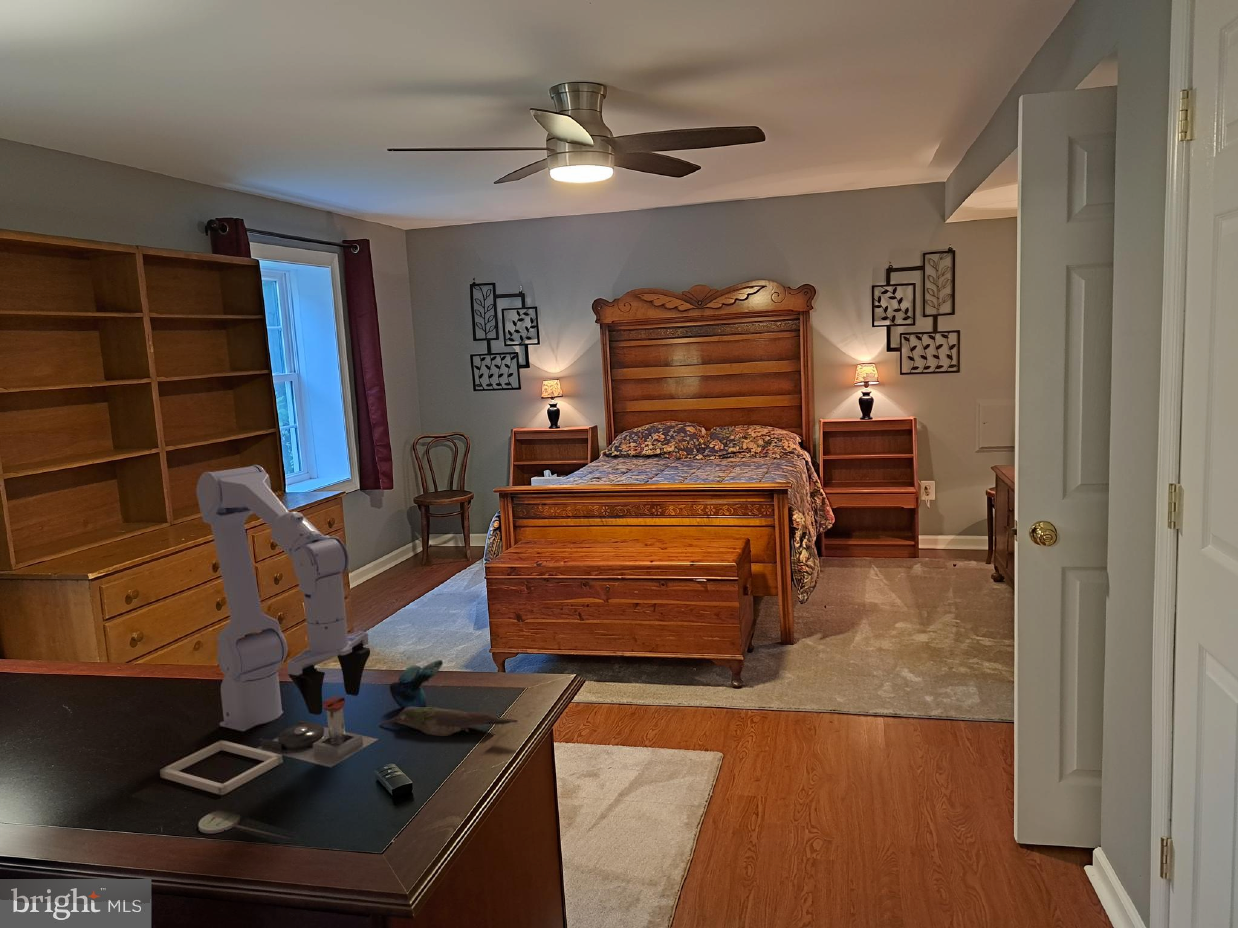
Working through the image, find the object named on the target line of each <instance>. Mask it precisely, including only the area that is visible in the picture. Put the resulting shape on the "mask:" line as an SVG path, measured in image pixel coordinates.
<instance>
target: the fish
mask: <svg viewBox="0 0 1238 928" xmlns="http://www.w3.org/2000/svg"><path fill="white" fill-rule="evenodd" d="M443 663H444V661H443V660H442V659H437V660H434V661H431V662H430V663H427V664H425V665H424V666H422V667H421V666H420V665H417V664H412V665H410V666H408V667H407V668H406V669H404V670H403V671H402V672H401V674H400V676H399V678H398V681H396V682H392V683H391V684H389V692H390V694H391V697H392V699H393V701H394V702H395V703H396V704H397V705H398V706H399V707H400V708H401V709H402V710H404V709H405V708H406V707H427V700H426V693H425V691H424V690H423V688H422V687H421V686H422V684H424V683H425V682H426V683H430V679H431V678H434V677H435V676H436V675H437V674H438V672H439V671H440V669H441V668H442V666H443Z"/></svg>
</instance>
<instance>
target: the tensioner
mask: <svg viewBox="0 0 1238 928" xmlns="http://www.w3.org/2000/svg"><path fill="white" fill-rule="evenodd" d="M345 736H346V742H345V743H343V744H341V745H339V746H333V745H330V741H329V730H328V727H325V726H323V725H322V724H320V723H316V722H311V721H307V720H304V719H303V720H302V719H301V720H299V721H297V725H292V726H290V727H287V728H286V729H284V730H282V731H280V732H279V733H278V735H277V737H276V738H273V739H268V738H262V739H261V740H260V743H261V744H260V746H259V747H256V748H255V749H259V750H263V751H267V752H271V753H275V754H279V755H282V757H283V756H284V757H289V758H293V759H296V760H299V761H303V762H308V763H313V764H316V765H320V766H323V767H329V768H333V767H334V766H336V765H337V764H339V763H341V762H342V761H344V760H346V759H347V758H349V757H351V756H353V755H354V754H357V753H358V752H359V751H361V750H363V749H365V748H366V747H368V746H370V745H371V744H373V743H375V742H376V741H378V740H379V739H378V738H374V737H371V736H365V735H361V734H357V733H353V732H350V731H349V732H348V731H345Z"/></svg>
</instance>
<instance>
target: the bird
mask: <svg viewBox="0 0 1238 928" xmlns="http://www.w3.org/2000/svg"><path fill="white" fill-rule="evenodd" d="M394 722H396V723H399V724H401V725H404V726H408V727H410V728H413V729H416V730H419V731H421V733H424V734H427V735H429V736H431V735H432V736H437V737H439V736H440V737H445V736H451V735H453V734H456V733H459V732H460V731H462V730H463V731H465V732H467V733H468V732H470V729H469V728H472V727H476V726H482V725H491V726H492V725H493V726H495V725H496V726H498V725H507V724H511V723H518V720H517V719H513V718H505V717H498V716H496V715H493V714H489V713H488V712H486V711H483V712H475V711H474V712H473V711H472V712H467V711H463V710H459V709H458V710H455V709H447V708H440V707H436V706H426V707H406V708H405V709H402V711H400V712H399V714H398V715H397V716H395V717H393V718H390V719H388V720H386V721H384V722H382V723H380V724H379V725H378V727H383V726H385V725H387V724H389V723H394Z"/></svg>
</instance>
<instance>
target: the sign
mask: <svg viewBox="0 0 1238 928" xmlns="http://www.w3.org/2000/svg"><path fill="white" fill-rule="evenodd" d="M241 819H242V816H241V814H237V813H235V812H231V811H228V810H224V809H220V810H215V811H212V812H211V813H208V814H206V815H205V816H203V817H202V818H200V820H199V822H198V823H197V824H198V825H197V826H198V831H200V832H201V833H204V834H217V833H221V832H222V833H223V832H225V831H228V830H230V829H232V828H238V829H243V830H246V831H247V830H248V831H252V832H257V833H260V834H265V835H271V836H275V837H279V838H284V839H289V840H292V839H293V838H292V837H287V836H284V835H280V834H276V833H272V832H268V831H264V830H261V829H255V828H252V827H249V826H243V825H241V824H240V825H239V823H240V822H241ZM224 830H225V831H224Z"/></svg>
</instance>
